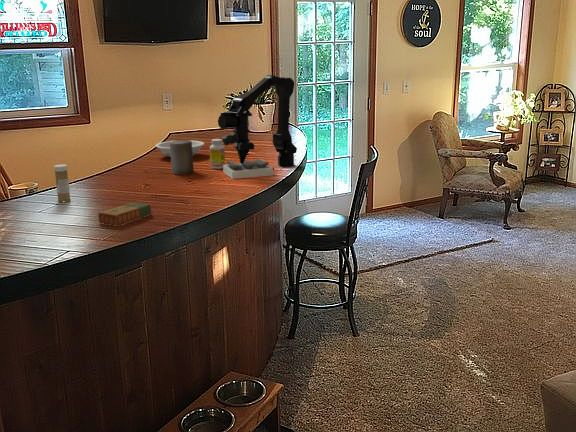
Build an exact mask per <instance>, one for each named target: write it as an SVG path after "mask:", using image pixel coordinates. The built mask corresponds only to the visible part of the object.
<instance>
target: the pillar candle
mask: <svg viewBox="0 0 576 432" xmlns="http://www.w3.org/2000/svg"><path fill="white" fill-rule="evenodd" d="M171 141H172V142H170V153H171V157H170V166H171V172H172V174H173V175H179V176H180V175H188V174H193V173H194V172H195V171H194V159H193V157H194V155H193V153H192V141H190V139H189V140H188V139H186V140H183V139H180V140H179V139H178V140H171Z"/></svg>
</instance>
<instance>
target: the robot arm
mask: <svg viewBox="0 0 576 432" xmlns="http://www.w3.org/2000/svg"><path fill="white" fill-rule="evenodd" d="M271 87H275V93H276V95H277V97H278V113H277V119H278V120H277V131H276V132H275V133H273V134H272V141H271V142H272V143H273V147H274V149H275V151H276V152H277V153H278V155H277V165H278V166H279V167H281V168H288V167H289V168H290V167H296V165H295V154H296V153H297V150H298V148H297V146H295V145H294V143H293V139H292V134H291V133H290V129H289V128H290V125H289V124H290V102H291V97H292V95H293V93H294V91H295V90H294V89H295V81H294V79H293V78H292V77H284V76H282V77H281V76H280V77H279V76H276V75H273V74H272V75H271V74H267V75H265V76H264V77H263V78H262V79H260V81H259V82H258V83H256V84H255V85H254V86H253V87H252V88H250V89H249V90H248V91H247V92H244V93H241V94H239V95H237V96H235V97H234V98H233V99H232V103H231V105H230V106H229V107H228V110H227V111H221V112H220V115H219V116H218V119H217V124H218V127H219V128H220V129H222V130H223V129H232V128H233V130H232V132H231V133H228V134H226V135H223V136H221V139H222V145H225V146H228V145H233V144H234V146H233V148H234V149H235V150H236V152H237V156H238V159H239V164H240V163H244V160H246V158H247V156H248V153H249V152H250V150H255V144H254V143H253V142H252V141H250V138H249V133H250V131H251V130H250V129H249V117H253V113H252V112H250V109H252V107H253V105H254V102H255V101H256V100H257V99H258V98H259V97H261V95H263V94H264V93H265V92H266V91H267V90H269V88H271Z"/></svg>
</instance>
